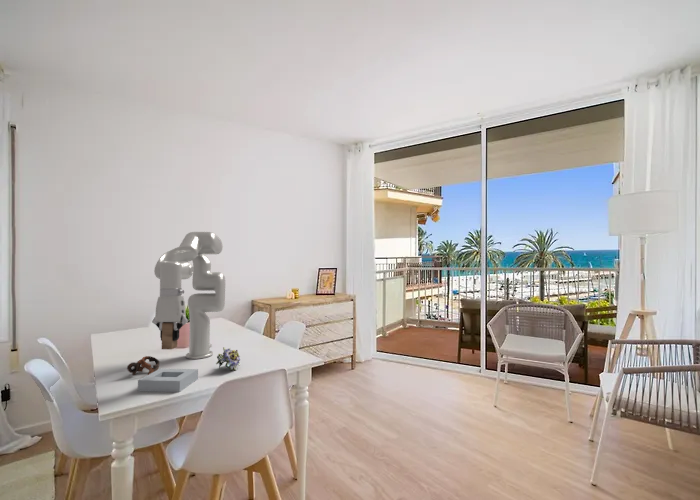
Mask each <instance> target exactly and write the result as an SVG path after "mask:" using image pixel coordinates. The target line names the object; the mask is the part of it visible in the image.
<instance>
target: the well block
mask: <svg viewBox="0 0 700 500" xmlns="http://www.w3.org/2000/svg"><path fill="white" fill-rule="evenodd" d="M197 380H199V369H198V368H159V369H158V370H157V371H155V372H153V373H151V374H149V375H148V374H147V375H145V376H144V377H141V378H140V379H137V392H160V393H161V392H164V393H165V392H166V393H168V392H170V393H173V392H175V393H177V392H178V393H180V392H182V391H183V390H185V389H186V388H187V387H188V386H190V385H192V384H193V383H195V382H196V381H197Z"/></svg>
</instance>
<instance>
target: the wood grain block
mask: <svg viewBox="0 0 700 500" xmlns="http://www.w3.org/2000/svg"><path fill="white" fill-rule="evenodd" d="M173 330H174V325H173V322H165V323H162V341H161V350H174V349H176V348H178V340H175V341H173Z"/></svg>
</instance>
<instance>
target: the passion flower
mask: <svg viewBox="0 0 700 500" xmlns="http://www.w3.org/2000/svg"><path fill="white" fill-rule="evenodd" d="M222 350H223V352H222V353H218V354H217V356H216V358H217V362H216V363H215V364H216V365H218V369H219V370H220V369H221V366H222V365H223V364H224V363H225V365H224V366H225V368H228V369H229V370H230V371H237V369H238V366H241V362H240V361H241V356H240V355H239V352H238V349H231V347H230V348H226V347H222Z"/></svg>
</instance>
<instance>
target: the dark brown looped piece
mask: <svg viewBox="0 0 700 500" xmlns="http://www.w3.org/2000/svg"><path fill="white" fill-rule="evenodd" d="M147 360H148V362H151V363H153V362H154V363H155V364H154V365H151V363H148V362H146V361H147ZM152 366H153V367H152ZM159 366H160V361H159V359H157V358H156V357H154V356H151V355H150V356H149V355H148V356H147V355H145V356H143V357H142V358H141V359H140V360H138V361H137V362H130V363H129V364H128V365H127V368H126V369H127V371H128V373H130V374H132V376H136V375H137V372H139V373H140V372H143V371H144V369H146V370H149V371H148V373H147V375H149V374H151V373H153V372H155V371H157V370H158V369H160V367H159Z"/></svg>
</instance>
